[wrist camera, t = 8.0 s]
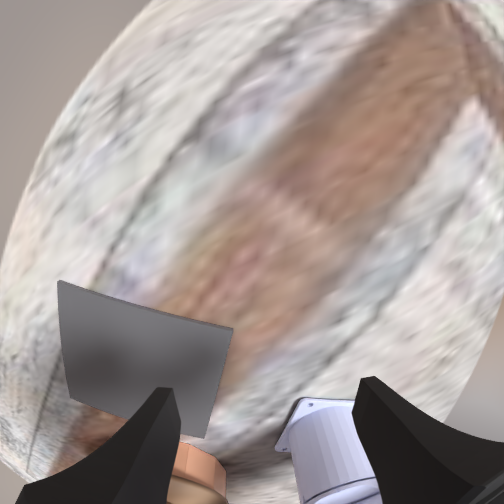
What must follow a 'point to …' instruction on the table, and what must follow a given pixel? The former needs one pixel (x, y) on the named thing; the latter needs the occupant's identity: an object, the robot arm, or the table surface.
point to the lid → (192, 493)
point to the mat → (139, 356)
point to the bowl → (200, 468)
